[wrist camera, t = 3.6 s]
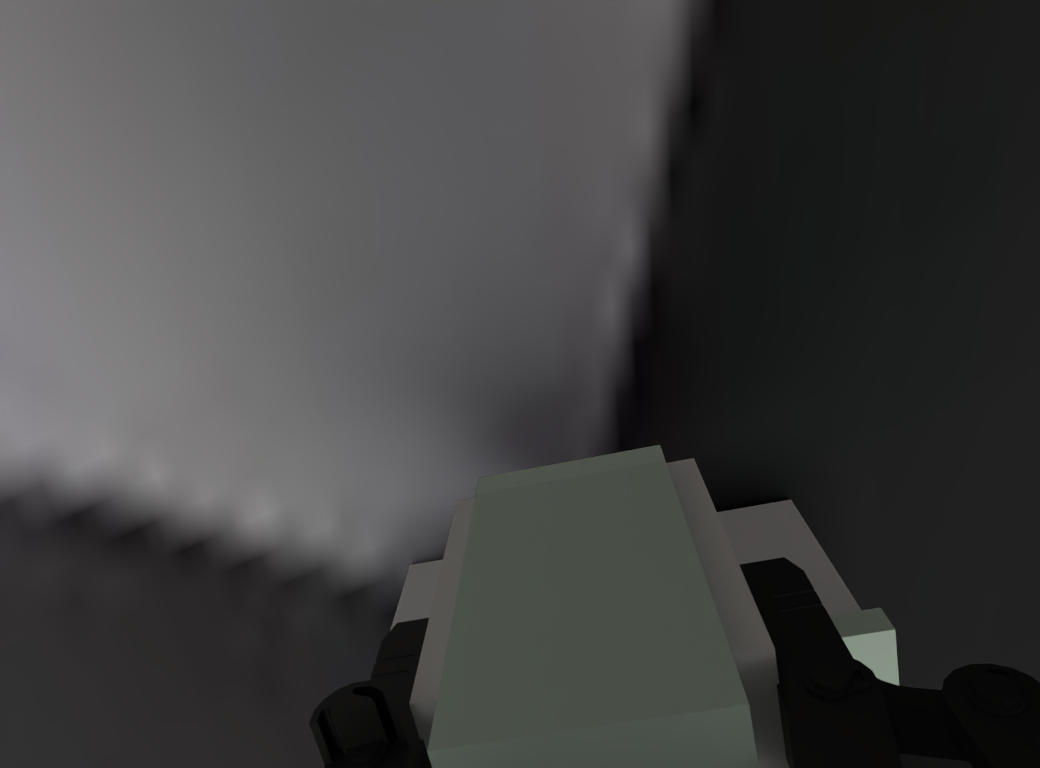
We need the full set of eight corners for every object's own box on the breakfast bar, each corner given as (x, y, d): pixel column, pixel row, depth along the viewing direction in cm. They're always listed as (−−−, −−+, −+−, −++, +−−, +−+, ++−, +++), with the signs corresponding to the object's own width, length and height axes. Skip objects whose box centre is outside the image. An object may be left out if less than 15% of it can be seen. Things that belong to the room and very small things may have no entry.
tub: (410, 565, 25) (369, 698, 19) (790, 499, 24) (868, 620, 18) (493, 844, 29) (480, 1024, 23) (825, 799, 27) (898, 978, 22)
